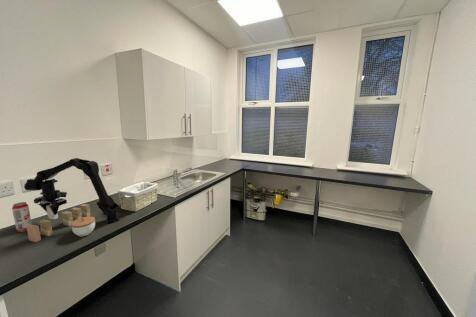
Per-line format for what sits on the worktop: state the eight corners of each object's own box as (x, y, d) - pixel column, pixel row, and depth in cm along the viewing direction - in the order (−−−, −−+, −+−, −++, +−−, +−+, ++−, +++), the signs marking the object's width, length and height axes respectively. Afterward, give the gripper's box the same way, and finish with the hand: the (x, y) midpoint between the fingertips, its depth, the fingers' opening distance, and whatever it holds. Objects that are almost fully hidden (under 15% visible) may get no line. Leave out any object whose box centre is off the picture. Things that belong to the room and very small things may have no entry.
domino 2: (52, 216, 123) (50, 204, 121) (58, 217, 121) (56, 205, 120) (48, 218, 120) (46, 206, 119) (54, 219, 119) (52, 207, 118)
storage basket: (143, 197, 163) (142, 180, 160) (159, 200, 158) (158, 183, 155) (118, 209, 141) (116, 190, 138) (136, 213, 136) (134, 193, 133)
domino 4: (76, 218, 126) (74, 207, 125) (82, 220, 125) (80, 208, 124) (72, 220, 124) (71, 208, 123) (78, 221, 123) (77, 209, 122)
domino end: (34, 238, 106) (31, 224, 104) (40, 239, 104) (38, 226, 103) (29, 240, 103) (26, 226, 102) (35, 242, 102) (33, 228, 101)
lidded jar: (81, 228, 116) (79, 213, 114) (100, 228, 116) (98, 213, 115) (67, 239, 105) (65, 223, 103) (88, 238, 106) (86, 223, 104)
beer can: (14, 233, 109) (8, 207, 106) (20, 228, 115) (15, 202, 112) (29, 231, 111) (23, 205, 108) (34, 226, 117) (30, 201, 114)
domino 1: (46, 232, 111) (44, 219, 109) (52, 234, 110) (50, 220, 108) (41, 234, 109) (39, 221, 107) (48, 236, 107) (45, 222, 106)
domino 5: (84, 215, 132) (83, 204, 130) (90, 216, 130) (89, 204, 129) (81, 216, 130) (80, 205, 128) (87, 217, 128) (86, 206, 127)
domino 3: (67, 223, 121) (65, 211, 120) (73, 224, 120) (71, 212, 119) (63, 224, 119) (61, 212, 118) (69, 226, 118) (67, 213, 116)
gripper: (74, 187, 123) (77, 210, 126) (52, 184, 127) (56, 206, 130) (54, 193, 112) (58, 218, 115) (31, 190, 117) (35, 214, 120)
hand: (52, 213), depth 120 cm, fingers closed on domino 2, 5 cm apart
